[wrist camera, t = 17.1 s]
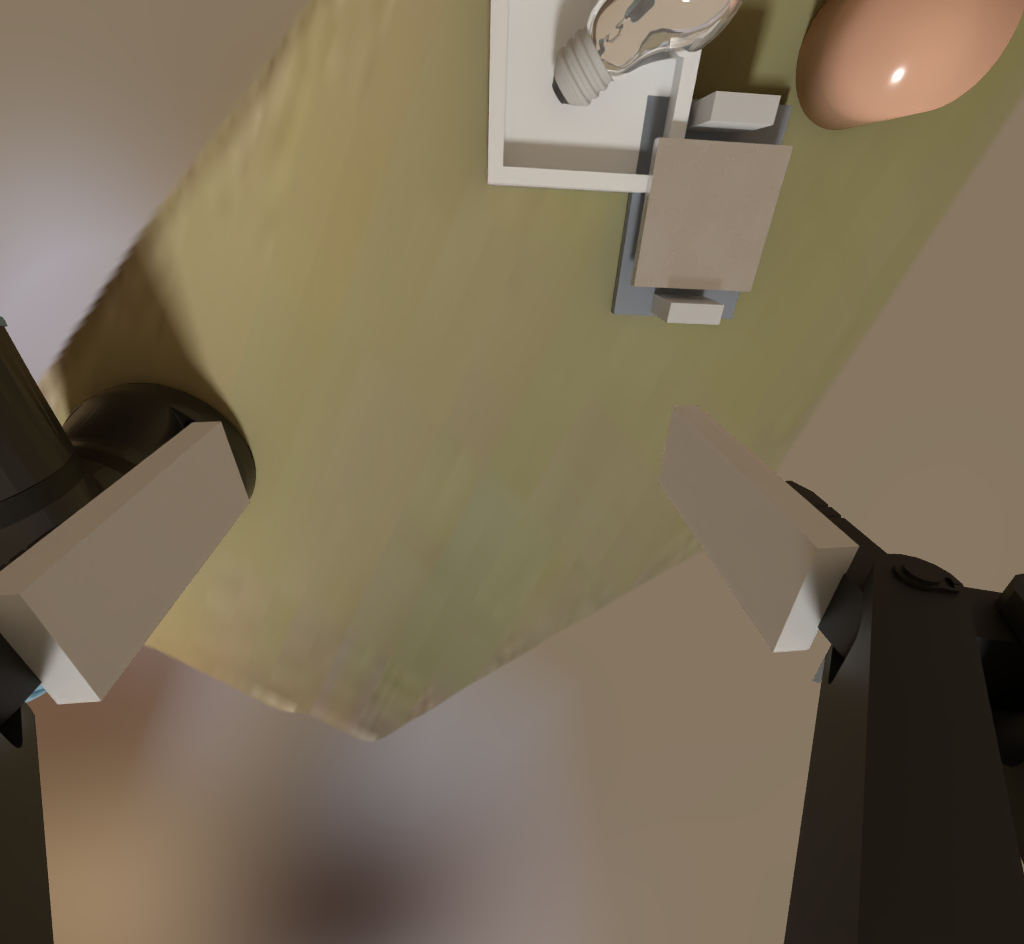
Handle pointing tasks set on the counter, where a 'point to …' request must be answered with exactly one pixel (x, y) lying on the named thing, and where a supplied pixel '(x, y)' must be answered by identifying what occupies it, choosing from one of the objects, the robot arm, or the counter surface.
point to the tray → (562, 127)
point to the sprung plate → (707, 213)
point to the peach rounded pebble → (897, 56)
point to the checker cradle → (707, 121)
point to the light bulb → (634, 41)
